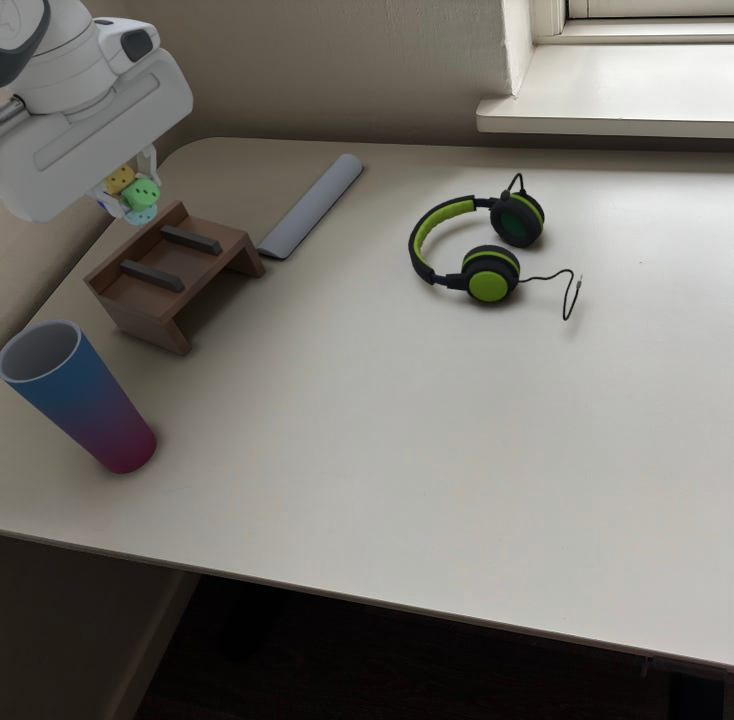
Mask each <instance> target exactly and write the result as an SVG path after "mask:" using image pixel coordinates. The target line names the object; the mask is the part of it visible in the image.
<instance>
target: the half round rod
mask: <svg viewBox="0 0 734 720" xmlns="http://www.w3.org/2000/svg"><path fill="white" fill-rule="evenodd" d="M362 171H363V163H362V162H361V160H360V159H359V158H358V157H357V156H355V155H353V154H350V153H342V154H341V155H340V156H339V157H338V158H337V159H336V160H335V161H334V162H333V164H332V165H331V166H330V167H329V168H328V169H327V170H326V171H325V172H324V173H323V174H322V175H321V177H319V179H318V180H316V182H315V183H314V184H313V185H312V186H311V187H310V188H309V190H308V191H307V192H306V193H305V194H304V195H303V196H302V197H301V198H300V200H298V201H297V202H296V204H295V205H294V206H293V207H292V208H291V209H290V210H289V212H287V213H286V215H285V216H284V217H283V218H282V219H281V220H280V221H279V223H278V224H276V225H275V227H274V228H273V229H272V230H271V231H270V232H269V233H268V234H267V235H266V237H265V238H264V239H263V240H262V241H261V242H260V243H259V244H258V245H257V247H255V249H256V251H257V253H258V254H262V255H266V256H270V257H275V258H279V259H285V258H287V257H289V256H290V254H291V253H292V252H293V251H294V250H295V248H296V247H297V246H298V245H299V244H300V242H301V241H302V240H303V239H304V238H305V237H306V236H307V235H308V233H309V232H310V231H311V230H312V229H313V227H314V226H316V224H317V223H318V222H319V221H320V220H321V218H322V217H324V215H325V214H326V213H327V212H328V210H329V209H330V208H331V207H332V206H333V205H334V203H335V202H336V201H337V200H338V199H339V198H340V196H341V195H343V193H345V191H346V190H347V189H348V188H349V186H350V185H351V184H352V183H353V182H354V180H356V178H357V177H358V176H359V175H360V174H361V172H362Z"/></svg>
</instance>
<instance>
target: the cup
mask: <svg viewBox="0 0 734 720" xmlns="http://www.w3.org/2000/svg"><path fill="white" fill-rule="evenodd" d="M0 379H1V380H2V381H3V382H5V383H6V384H7V385H8V386H9V387H11V388H12V389H13V390H14V391H15V392H16V393H18V394H19V395H20V396H21V397H22V398H24V399H25V400H26V402H28V403H30V405H32V406H33V407H34V408H36V410H38V411H39V412H40V413H41V414H42V415H44V416H45V417H46V418H47V419H49V420H50V421H51V422H52V423H53V424H54V425H55V426H56V427H58V428H59V429H60V430H62V431H63V433H65V434H66V435H68V437H70V438H71V439H72V440H73V441H74V442H76V443H77V444H78V445H79V446H81V448H83V450H85V451H86V452H88V453H89V454H90V455H91V456H92V457H94V459H96V460H97V461H98V462H99V463H100V464H102V465H103V466H104V467H105V468H106V469H107V470H109V471H110V472H112V473H115V474H127V473H131V472H133V471H136V470H137V469H140V468H141V467H142V466H143V465H145V464H146V463H147V462H148V461H149V460H150V459H151V458H152V456H153V454H154V453H155V451H156V447H157V438H156V436H155V434H154V432H153V431H152V430H151V428H150V427H149V425H148V424H147V423H146V421H145V419H144V418H143V417H142V415H141V414H140V412H139V411H138V409H137V408H136V406H135V405H134V403H133V402H132V401H131V400H130V398H129V396H128V395H127V394H126V392H125V391H124V389H123V388H122V386H121V385H120V383H119V382H118V381H117V380H116V377H115V376H114V375H113V374H112V372H111V371H110V369H109V368H108V366H107V365H106V364H105V362H104V360H103V359H102V357H101V356H100V355H99V353H98V352H97V350H96V349H95V347H94V345H92V343H91V342H90V341H89V339H88V338H87V336H86V335H85V333H84V332H83V330H82V329H81V328H80V326H79V325H78V324H77V323H76V322H74V321H73V320H70V319H67V318H51V319H46V320H42V321H40V322H37V323H34V324H32V325H30V326H28V327H25V328H24V329H23V330H21V331H20V332H18V333H17V334H15V335H14V336H13V337H12V338H10V339H9V340H8V341H7V342H6V344H5V345H4V346H3V347H2V348H1V350H0Z"/></svg>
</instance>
